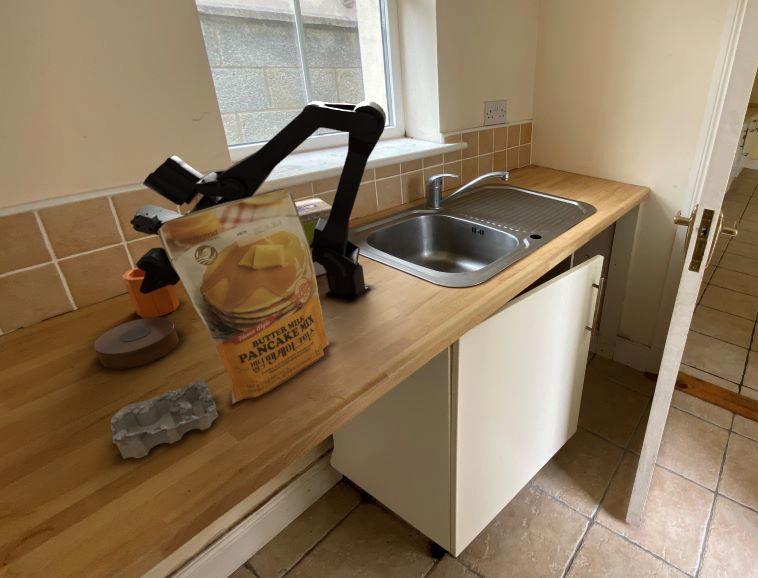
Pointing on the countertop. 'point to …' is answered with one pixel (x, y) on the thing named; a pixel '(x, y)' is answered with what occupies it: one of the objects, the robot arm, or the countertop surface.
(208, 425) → the egg carton
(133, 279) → the orange faceted cup
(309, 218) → the tea box
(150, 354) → the walnut ring base
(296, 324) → the pancake mix bag
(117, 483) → the countertop surface
